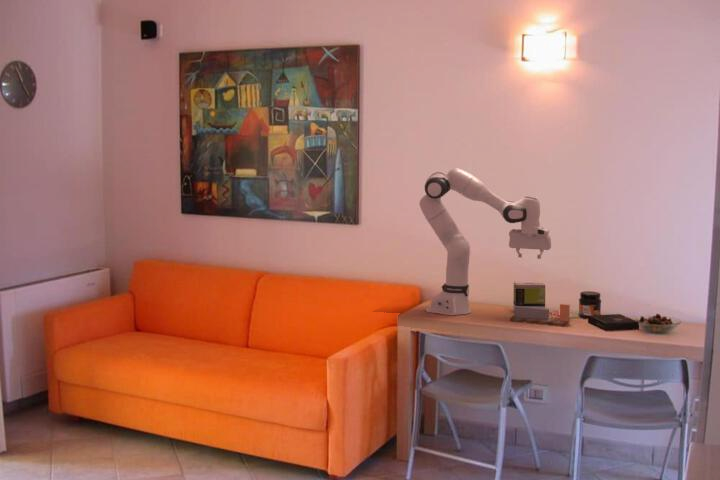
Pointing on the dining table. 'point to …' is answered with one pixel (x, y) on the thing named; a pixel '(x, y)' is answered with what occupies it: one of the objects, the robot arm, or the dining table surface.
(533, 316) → the grey long bar
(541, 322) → the brown flat board
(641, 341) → the dining table surface
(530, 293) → the tea box
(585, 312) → the supplement container
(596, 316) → the portable cd player
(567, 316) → the stub
